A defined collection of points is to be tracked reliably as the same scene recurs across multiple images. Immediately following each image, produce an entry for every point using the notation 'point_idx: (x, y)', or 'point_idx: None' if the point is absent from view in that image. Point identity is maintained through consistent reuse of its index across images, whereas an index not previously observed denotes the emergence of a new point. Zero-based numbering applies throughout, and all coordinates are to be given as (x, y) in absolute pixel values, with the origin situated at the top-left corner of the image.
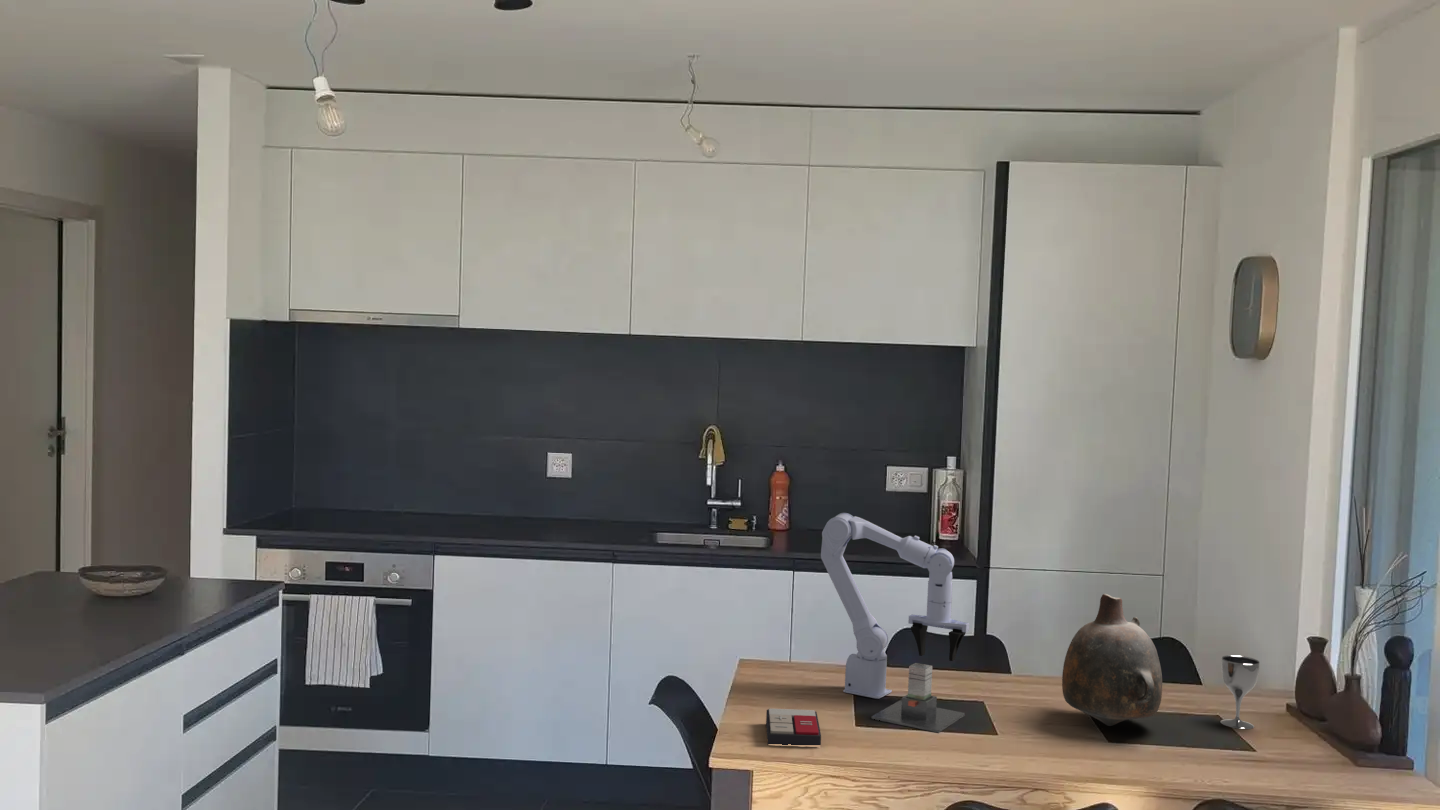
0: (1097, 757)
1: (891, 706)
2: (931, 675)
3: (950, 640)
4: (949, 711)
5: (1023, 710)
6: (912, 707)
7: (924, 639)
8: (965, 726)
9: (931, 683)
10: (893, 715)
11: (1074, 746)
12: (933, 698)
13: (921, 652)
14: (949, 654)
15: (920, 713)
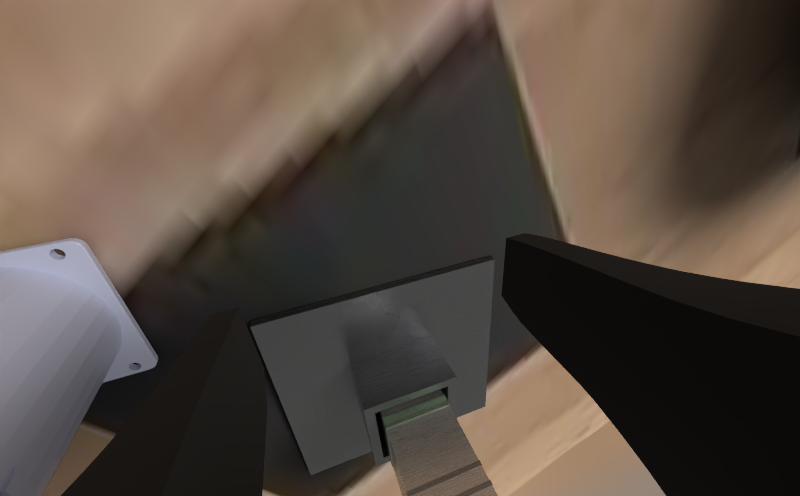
0: (745, 266)
1: (284, 392)
2: (484, 474)
3: (665, 476)
4: (451, 284)
5: (644, 26)
6: None
7: (204, 472)
8: (516, 324)
9: (466, 438)
10: (347, 430)
11: (722, 245)
12: (456, 397)
13: (266, 401)
14: (536, 338)
15: None
